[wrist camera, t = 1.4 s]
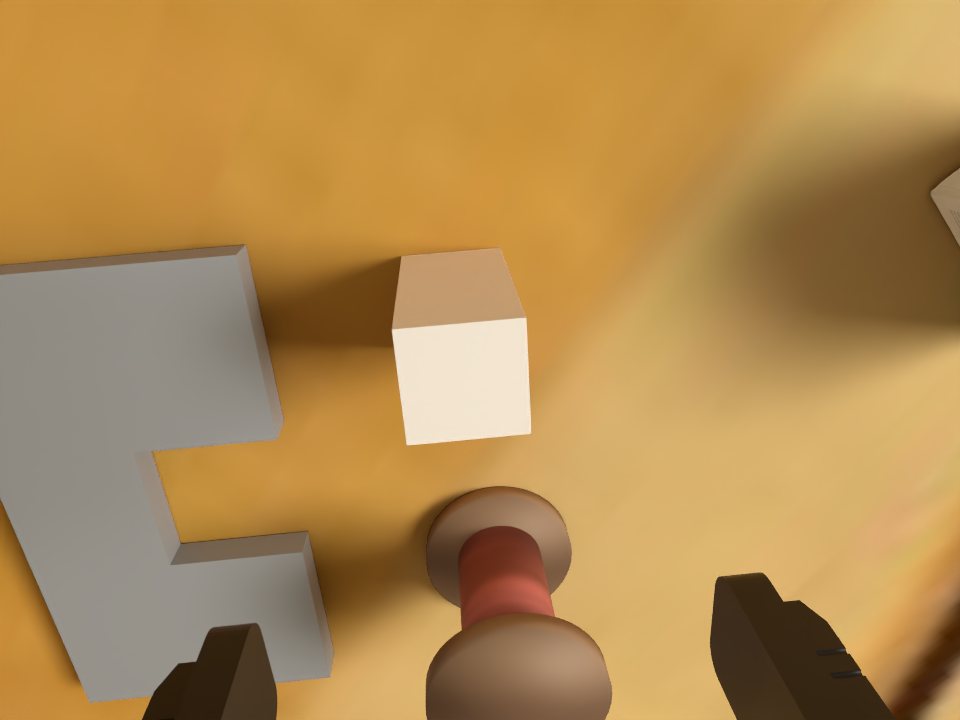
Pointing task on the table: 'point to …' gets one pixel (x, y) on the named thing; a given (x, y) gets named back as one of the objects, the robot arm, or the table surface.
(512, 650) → the spool
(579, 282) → the table surface
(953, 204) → the ink box
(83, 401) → the notched board
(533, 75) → the table surface
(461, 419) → the block
